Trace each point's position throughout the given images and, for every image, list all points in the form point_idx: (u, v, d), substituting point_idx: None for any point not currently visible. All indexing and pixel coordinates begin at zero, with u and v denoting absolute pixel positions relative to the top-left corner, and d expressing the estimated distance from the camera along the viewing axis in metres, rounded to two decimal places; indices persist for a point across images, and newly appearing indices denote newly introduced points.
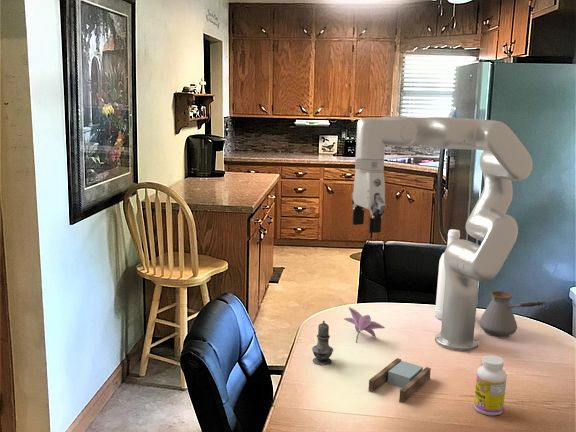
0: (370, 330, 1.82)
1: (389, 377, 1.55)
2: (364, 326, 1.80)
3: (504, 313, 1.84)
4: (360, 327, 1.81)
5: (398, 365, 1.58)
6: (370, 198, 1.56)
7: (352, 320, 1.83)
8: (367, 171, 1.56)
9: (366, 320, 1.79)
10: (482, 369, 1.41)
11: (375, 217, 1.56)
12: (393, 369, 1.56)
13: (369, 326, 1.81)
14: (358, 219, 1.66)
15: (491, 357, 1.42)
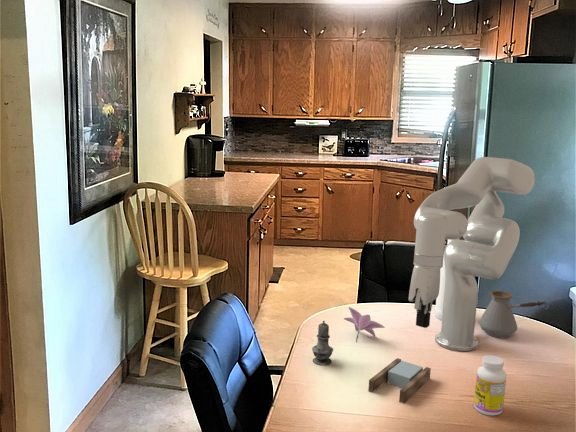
0: (370, 330, 1.83)
1: (389, 377, 1.55)
2: (364, 326, 1.81)
3: (504, 313, 1.84)
4: (360, 327, 1.81)
5: (398, 365, 1.58)
6: None
7: (352, 320, 1.84)
8: None
9: (366, 319, 1.80)
10: (482, 369, 1.41)
11: None
12: (393, 369, 1.56)
13: (369, 326, 1.82)
14: None
15: (491, 357, 1.42)
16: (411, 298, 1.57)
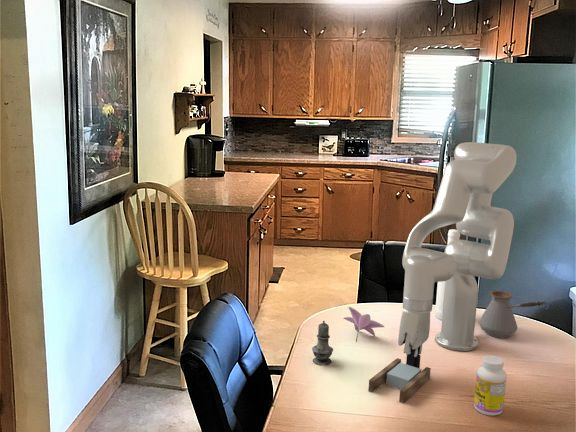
0: (370, 329, 1.83)
1: (388, 379, 1.54)
2: (364, 325, 1.81)
3: (504, 313, 1.84)
4: (360, 326, 1.81)
5: (397, 367, 1.57)
6: None
7: (352, 319, 1.84)
8: None
9: (365, 319, 1.80)
10: (482, 369, 1.41)
11: None
12: (392, 371, 1.55)
13: (369, 325, 1.82)
14: None
15: (491, 357, 1.42)
16: (400, 342, 1.55)
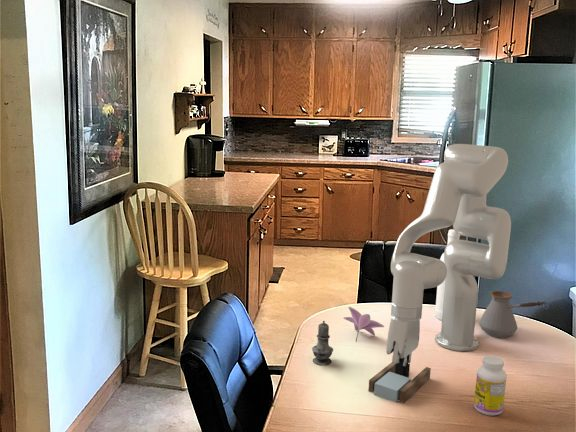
0: (369, 329, 1.83)
1: (375, 389, 1.48)
2: (364, 325, 1.81)
3: (504, 313, 1.84)
4: (360, 326, 1.81)
5: (385, 376, 1.52)
6: None
7: (352, 319, 1.84)
8: None
9: (365, 319, 1.80)
10: (482, 369, 1.41)
11: None
12: (380, 381, 1.50)
13: (369, 325, 1.82)
14: None
15: (491, 357, 1.42)
16: (389, 351, 1.50)
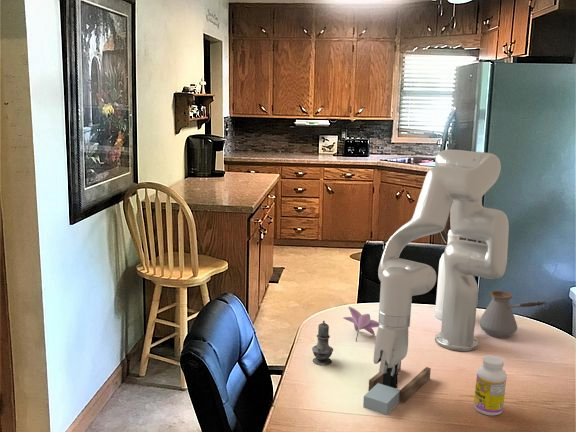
0: (369, 329, 1.84)
1: (365, 402, 1.43)
2: (364, 325, 1.81)
3: (504, 313, 1.84)
4: (360, 326, 1.82)
5: (374, 388, 1.46)
6: None
7: (351, 319, 1.84)
8: None
9: (365, 318, 1.80)
10: (482, 369, 1.41)
11: None
12: (369, 393, 1.44)
13: (368, 325, 1.82)
14: None
15: (491, 357, 1.42)
16: (376, 360, 1.45)
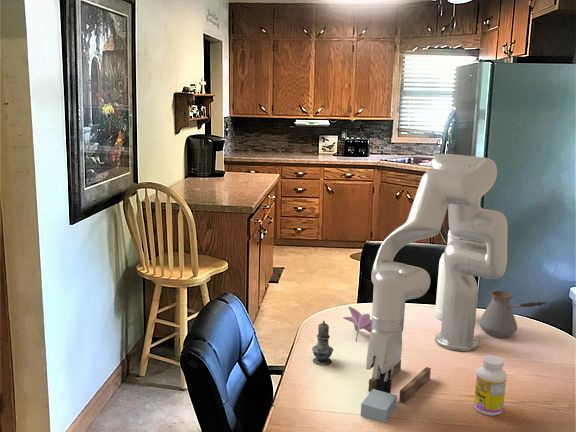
0: (369, 329, 1.84)
1: (362, 410, 1.39)
2: (364, 325, 1.81)
3: (504, 313, 1.84)
4: (360, 326, 1.82)
5: (370, 395, 1.43)
6: None
7: (351, 319, 1.84)
8: None
9: (365, 318, 1.80)
10: (482, 369, 1.41)
11: None
12: (366, 400, 1.40)
13: (368, 325, 1.82)
14: None
15: (491, 357, 1.42)
16: (368, 366, 1.42)
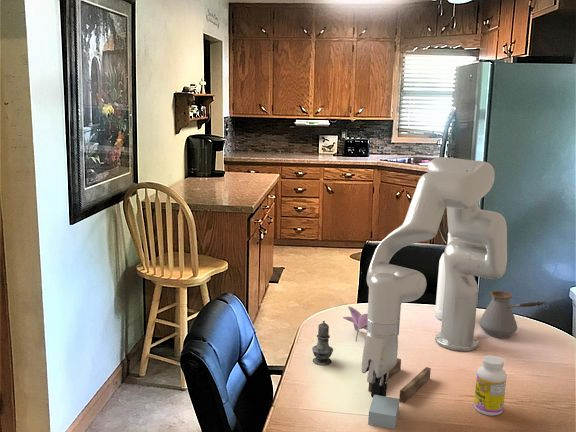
0: None
1: (370, 418, 1.35)
2: (363, 324, 1.82)
3: (504, 313, 1.84)
4: (359, 325, 1.82)
5: (374, 401, 1.40)
6: None
7: (351, 319, 1.84)
8: None
9: (365, 318, 1.81)
10: (482, 369, 1.41)
11: None
12: (372, 408, 1.37)
13: None
14: None
15: (491, 357, 1.42)
16: (364, 370, 1.40)
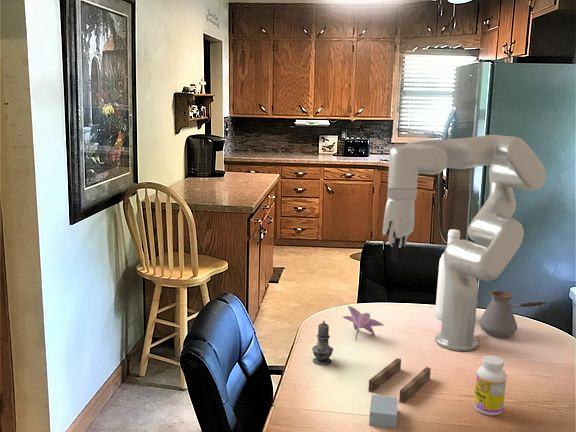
0: (369, 328, 1.84)
1: (371, 418, 1.35)
2: (363, 324, 1.82)
3: (504, 313, 1.84)
4: (359, 325, 1.82)
5: (373, 401, 1.39)
6: None
7: (351, 318, 1.85)
8: None
9: (365, 317, 1.81)
10: (482, 369, 1.41)
11: None
12: (372, 408, 1.37)
13: (368, 324, 1.83)
14: None
15: (491, 357, 1.42)
16: (385, 232, 1.57)
